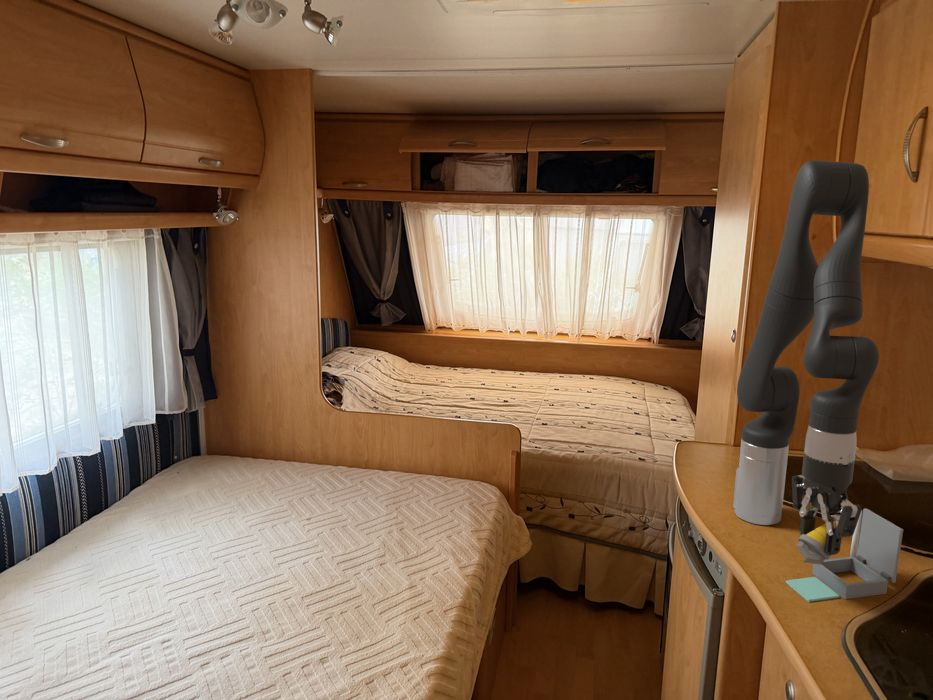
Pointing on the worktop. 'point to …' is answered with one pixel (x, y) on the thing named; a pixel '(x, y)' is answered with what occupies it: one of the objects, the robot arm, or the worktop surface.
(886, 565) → the case
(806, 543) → the drill bit
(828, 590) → the mat
